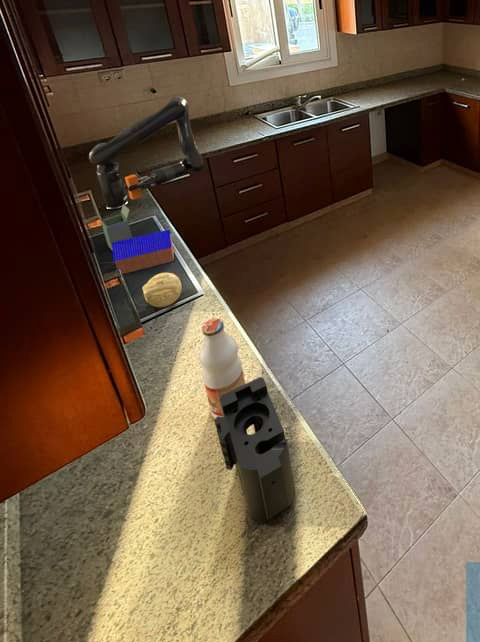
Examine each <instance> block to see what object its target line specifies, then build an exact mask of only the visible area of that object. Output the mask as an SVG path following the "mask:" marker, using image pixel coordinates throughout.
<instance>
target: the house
mask: <svg viewBox="0 0 480 642" xmlns="http://www.w3.org/2000/svg"><path fill="white" fill-rule="evenodd" d="M171 233H172V232H171V230H170V229H166V230H161V231H156V232H152V233H148V234H144V235H138V236H135V237H132V238H130V239H126V240H121V241H117V242H113V243H112V249H113V251H112V258H113V262H115V266H116V270H117V269H120V270H121V271H122V274H121V275H124V274H128V273H132V272H137V271H141V270H144V269H149V268H152V267H156V266H159V265H163V264H167V263H171V262H175V252H174V251H175V250H174V243H173V239H172V235H171Z"/></svg>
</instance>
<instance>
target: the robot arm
mask: <svg viewBox="0 0 480 642" xmlns="http://www.w3.org/2000/svg"><path fill="white" fill-rule="evenodd" d="M174 121H175V123H176V128H177V134H178V140H179V145H180V148H181V153H183V155H184V156H186V157H185V158H183V159H181V160H179V161H177V162H176V163H173V164H169V165H167V166H163V167H160V168H157V169H154V170H151V171H150V172H149V174H148V175H144V176H142V175H141V174H140V175H137V178H138V182H139V183H138V184H135V185H132V186H129V187H128V188H127V184H126V183H125V184H123V179H122V176H121V173H120V163H119V159H118V156H119V155H121V154H122V153H123V152H126V151H127V150H129V149H131V148H132V147H134V146H136V145H138V144H140V143H142V142H144V141H145V140H147V139H149V138H150V137H151V136H153V135H154V134H156V133H157V132H158V131H160V130H161V129H162V128H163V127H165V126H167V125H168V124H171V123H173V122H174ZM88 159H89V162H90V163H91V164H93V165H95V166H96V168H97V169H96V176H97V180H98V183H99V186H100V190H101V192H102V196H103V199H104V203H105V208H106V209H107V210H109V211H110V210H118V209H122V207H123V204H125V205H126V206H128V204H129V201H128V199H127V198H128V195H127V194H126V190H127V191H128V190H129V191H133V190H136V189H140V190H147V189H151V188H156V186H160V185H163V184H165V183H168V182H172V181H173V180H175V179H178V178H180V177H183V176H185V174H186V173H187V172H188V171H190V172H191V171H192V172H194V173H199V172H201V171H203V169H204V166H205V162H204V159H203V157H202V155H201V153H200V151H199V150H198V147H197V143H196V139H195V136H194V132H193V129H192V126H191V120H190V114H189V103H188V101H187V100H186V99H185V98H184V97H182V96H173V97H172V98H170V99H169V100H168V102H167V103H166V104H165V105H164V106H163V107H161V108H160V109H159V110H157V111H156V112H155V113H153V114H151V115H147V116H145V117H142V118H140V119H138V120H137V121H136V120H135V122H133V123H131V124H129V125H128V126H127V127H125V128H124V129H123V130H122V131H120V132H119V133H118V134H117V135H116V136H114V137H113V138H112V139H111V140H109V141H108V142H100V143H98V144H96V145H95V146H94V147H93V148H92V149H91V150H90V152H89V154H88Z"/></svg>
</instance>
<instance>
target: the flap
mask: <svg viewBox="0 0 480 642" xmlns="http://www.w3.org/2000/svg"><path fill="white" fill-rule="evenodd" d="M130 212H131V209H130V208H129V207H128V206H127V205H125V204H123V207H122V208H121V211H120V214H122V215H123V216H124V217H125V218H126V219H127V220H128V219H129V216H130Z"/></svg>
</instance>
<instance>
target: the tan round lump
mask: <svg viewBox="0 0 480 642" xmlns="http://www.w3.org/2000/svg"><path fill="white" fill-rule="evenodd" d="M182 290H183V289H182V282H181V280H180V278H179V277H178V276H177V274H174V273H172V272H160V273H158V274H155V275H154V276H153V277H151V278H150V279H149V280H148V281H147V283H145V284H144V285H143V286H142V291H143V296H144V299H145V301H146V303H148V304H150V305H151V306H152V307H155V308H165V307H168V306H170V305H172V304H174V303H176V301H177V300H178V299H179V298H180V296H181V293H182Z"/></svg>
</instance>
